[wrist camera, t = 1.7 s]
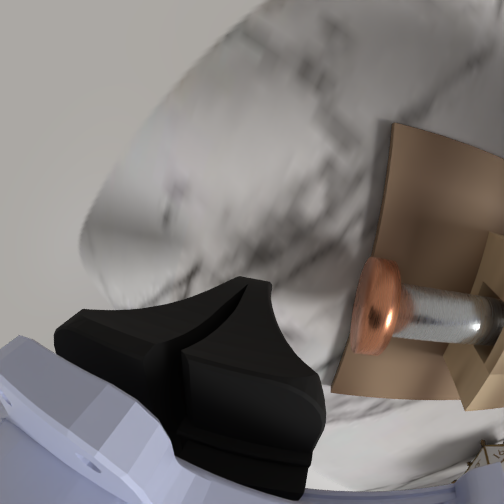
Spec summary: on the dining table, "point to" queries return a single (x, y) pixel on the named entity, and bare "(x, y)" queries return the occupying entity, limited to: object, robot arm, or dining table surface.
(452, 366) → the block
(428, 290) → the pin
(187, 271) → the dining table surface
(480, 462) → the game die
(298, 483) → the robot arm
